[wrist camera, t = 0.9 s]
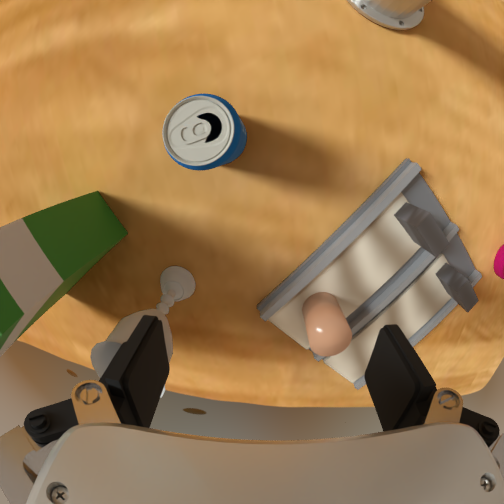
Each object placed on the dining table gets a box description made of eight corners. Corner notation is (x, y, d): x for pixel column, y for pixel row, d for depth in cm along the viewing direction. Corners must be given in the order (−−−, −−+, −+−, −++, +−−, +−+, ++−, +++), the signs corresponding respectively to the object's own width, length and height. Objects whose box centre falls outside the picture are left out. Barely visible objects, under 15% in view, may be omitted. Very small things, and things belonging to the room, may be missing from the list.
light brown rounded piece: (322, 284, 35) (334, 313, 29) (345, 306, 36) (360, 337, 30) (294, 309, 37) (300, 342, 30) (318, 329, 38) (327, 362, 31)
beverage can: (254, 155, 32) (250, 156, 20) (201, 171, 32) (171, 182, 21) (237, 104, 30) (225, 79, 18) (185, 122, 30) (148, 108, 19)
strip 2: (441, 252, 34) (466, 270, 28) (459, 285, 36) (482, 304, 29) (323, 359, 40) (330, 390, 34) (351, 380, 42) (360, 409, 36)
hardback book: (66, 293, 39) (-24, 383, 17) (40, 259, 37) (-59, 332, 15) (128, 233, 35) (2, 334, 13) (97, 190, 33) (-48, 251, 11)
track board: (405, 158, 31) (414, 159, 29) (475, 273, 36) (483, 278, 34) (256, 305, 38) (256, 314, 36) (356, 381, 43) (359, 390, 41)
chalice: (143, 273, 37) (77, 355, 20) (180, 248, 36) (120, 329, 19) (175, 313, 39) (132, 407, 22) (212, 292, 38) (182, 391, 21)
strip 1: (398, 191, 31) (425, 200, 25) (429, 234, 33) (455, 250, 27) (267, 317, 38) (268, 347, 32) (306, 347, 40) (312, 378, 33)
